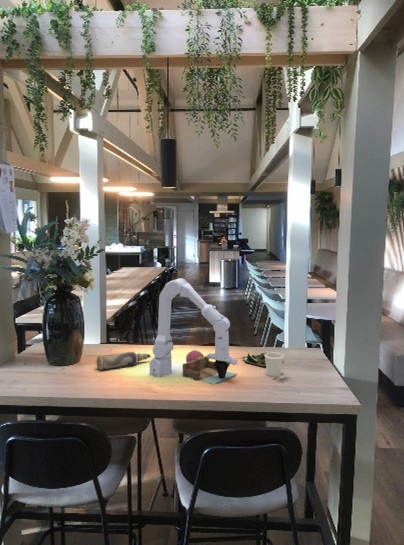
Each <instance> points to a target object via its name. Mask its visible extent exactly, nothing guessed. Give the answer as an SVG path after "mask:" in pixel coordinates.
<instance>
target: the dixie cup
mask: <svg viewBox="0 0 404 545" xmlns="http://www.w3.org/2000/svg"><path fill="white" fill-rule="evenodd" d="M265 353H266V352H265ZM264 356H265V361H266V368H265V369H266V375H267V376H268V377H275V378H273V379H272V380H273V381H274V380H275V381H276V380H280V379H281V375H282V370H283V362H284V357H285V356H284V354H283V353H279V352H270V353H269V352H267V353H266V354H265V355H264Z"/></svg>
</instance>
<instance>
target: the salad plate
mask: <svg viewBox="0 0 404 545" xmlns="http://www.w3.org/2000/svg"><path fill="white" fill-rule="evenodd" d="M266 353H271V352H261V353H257V354H252V353H247V356H243V357H241V359H243V361H244V362H245V364H246V365H249V366H253V367H256V368H257V367H258V368H263V369H266V361H265V356H264V355H265V354H266Z"/></svg>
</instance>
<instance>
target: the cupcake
mask: <svg viewBox="0 0 404 545" xmlns="http://www.w3.org/2000/svg"><path fill="white" fill-rule="evenodd" d="M202 357H205V355H204V354H203V353H202V352H201V351H200V350H196V349H194V350H191V351H189V352H188V353H187V354H186V356H185V361H186V362H185V363H187V362H190V361H193V360H196V359H199V358H202Z"/></svg>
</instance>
